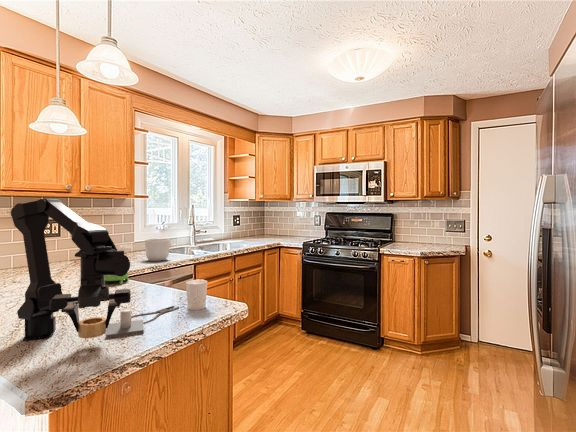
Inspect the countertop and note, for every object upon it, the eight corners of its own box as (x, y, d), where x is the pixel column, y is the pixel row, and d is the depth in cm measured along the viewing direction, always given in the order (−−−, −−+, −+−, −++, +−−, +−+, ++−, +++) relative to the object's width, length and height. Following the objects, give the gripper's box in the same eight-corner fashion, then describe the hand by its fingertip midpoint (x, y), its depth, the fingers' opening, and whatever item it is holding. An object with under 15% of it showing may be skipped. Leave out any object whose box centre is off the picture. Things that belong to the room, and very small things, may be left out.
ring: (76, 339, 84) (76, 326, 84) (80, 331, 90) (80, 318, 90) (104, 336, 87) (104, 323, 87) (106, 327, 93) (107, 315, 93)
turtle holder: (133, 276, 177) (133, 255, 177) (125, 284, 160) (125, 260, 159) (108, 277, 174) (108, 256, 174) (97, 285, 156) (97, 261, 156)
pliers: (118, 320, 107) (159, 303, 126) (118, 323, 107) (159, 306, 126) (142, 324, 104) (180, 306, 123) (142, 326, 104) (180, 308, 123)
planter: (174, 260, 233) (174, 239, 233) (150, 263, 221) (150, 241, 221) (163, 258, 245) (163, 238, 245) (140, 260, 233) (140, 239, 233)
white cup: (198, 311, 119) (199, 284, 119) (181, 309, 122) (181, 283, 121) (211, 305, 126) (211, 280, 126) (194, 303, 129) (194, 278, 129)
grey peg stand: (106, 338, 93) (106, 318, 93) (108, 326, 103) (108, 308, 102) (143, 333, 98) (143, 313, 98) (143, 322, 107) (143, 304, 107)
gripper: (43, 282, 77) (43, 347, 77) (129, 276, 85) (129, 335, 85) (54, 273, 87) (54, 330, 87) (130, 269, 95) (130, 321, 95)
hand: (92, 329), depth 88 cm, fingers closed on ring, 6 cm apart
